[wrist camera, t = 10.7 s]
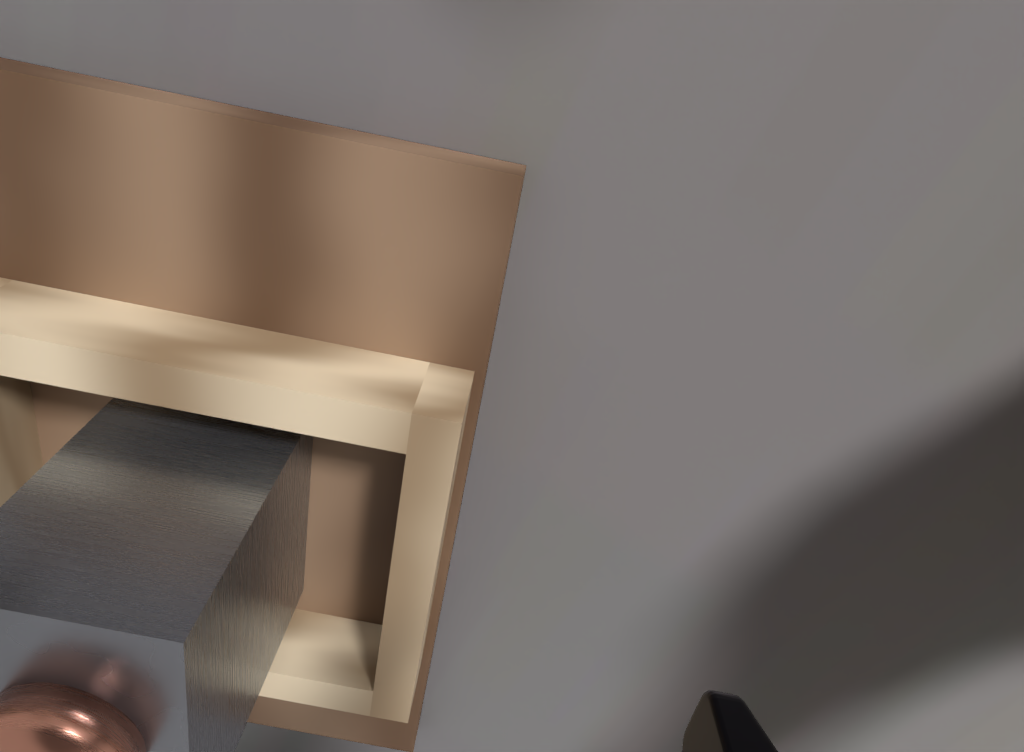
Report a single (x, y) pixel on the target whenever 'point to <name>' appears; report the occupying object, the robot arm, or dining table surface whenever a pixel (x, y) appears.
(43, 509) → the block with copper knob
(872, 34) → the dining table surface
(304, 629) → the chassis bay
